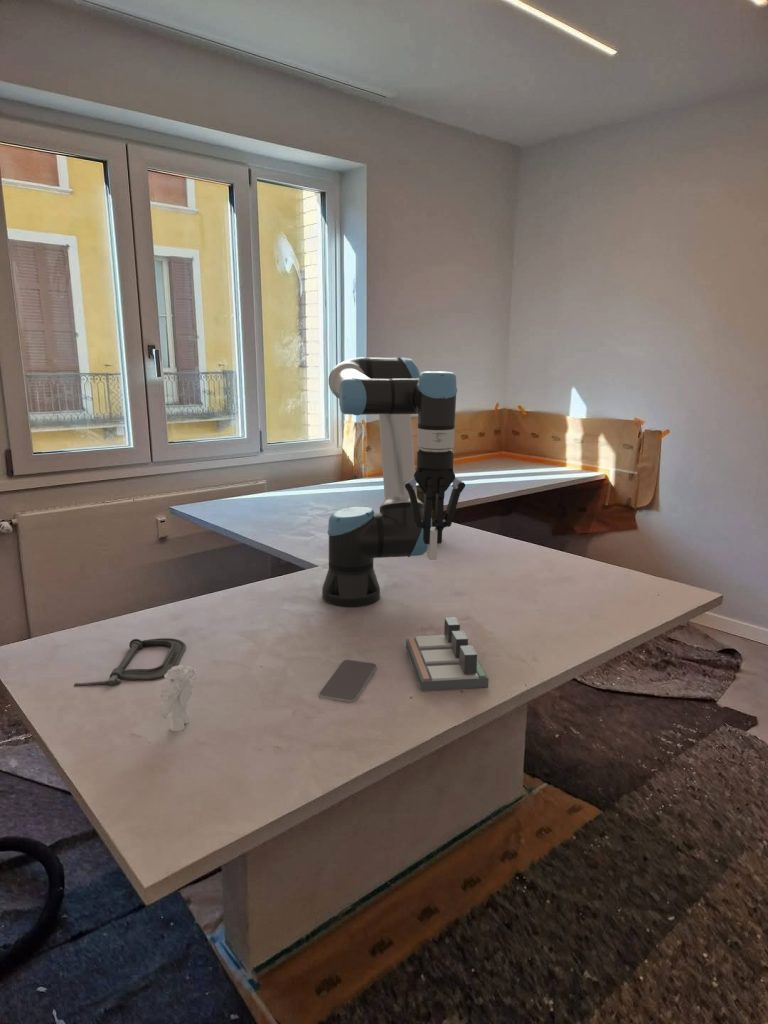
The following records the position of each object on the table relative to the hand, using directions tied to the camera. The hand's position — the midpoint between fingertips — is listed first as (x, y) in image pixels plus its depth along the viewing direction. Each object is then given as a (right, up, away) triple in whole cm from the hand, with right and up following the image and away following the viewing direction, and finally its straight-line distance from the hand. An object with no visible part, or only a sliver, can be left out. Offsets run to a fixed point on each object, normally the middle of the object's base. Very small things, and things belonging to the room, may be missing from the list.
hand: (431, 557), depth 140 cm
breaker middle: (+5, -19, -6) cm, 21 cm away
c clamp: (-61, -22, -5) cm, 65 cm away
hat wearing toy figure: (-45, -27, -27) cm, 59 cm away
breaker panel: (+2, -22, -5) cm, 23 cm away
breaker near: (+6, -21, -12) cm, 25 cm away
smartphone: (-17, -24, -11) cm, 32 cm away
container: (+4, +1, +87) cm, 87 cm away
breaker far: (+4, -17, +1) cm, 18 cm away
